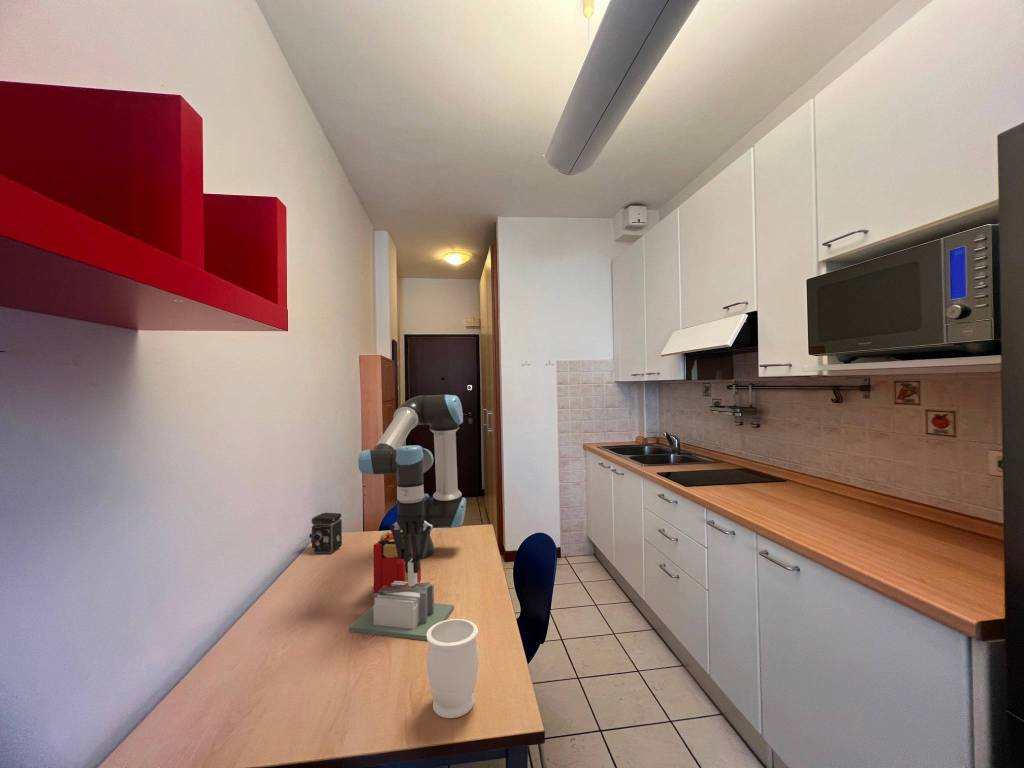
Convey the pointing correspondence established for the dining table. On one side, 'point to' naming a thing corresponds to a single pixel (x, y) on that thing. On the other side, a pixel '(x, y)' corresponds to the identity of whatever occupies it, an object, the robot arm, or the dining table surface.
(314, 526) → the camera
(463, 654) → the jar
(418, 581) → the radio
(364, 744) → the dining table surface
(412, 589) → the strap
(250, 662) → the dining table surface
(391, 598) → the heatsink
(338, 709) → the dining table surface
